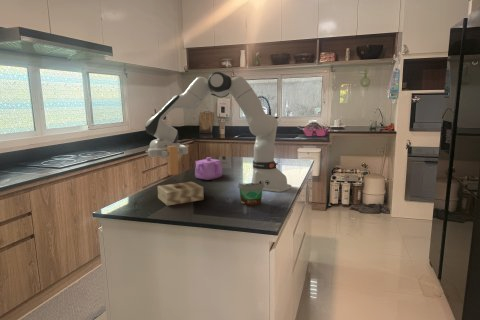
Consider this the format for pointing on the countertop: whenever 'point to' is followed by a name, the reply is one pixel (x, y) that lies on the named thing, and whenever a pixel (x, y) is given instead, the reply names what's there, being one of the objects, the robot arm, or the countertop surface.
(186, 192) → the socket
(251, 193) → the food container
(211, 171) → the teakettle
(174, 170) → the plug
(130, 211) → the countertop surface
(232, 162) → the countertop surface
